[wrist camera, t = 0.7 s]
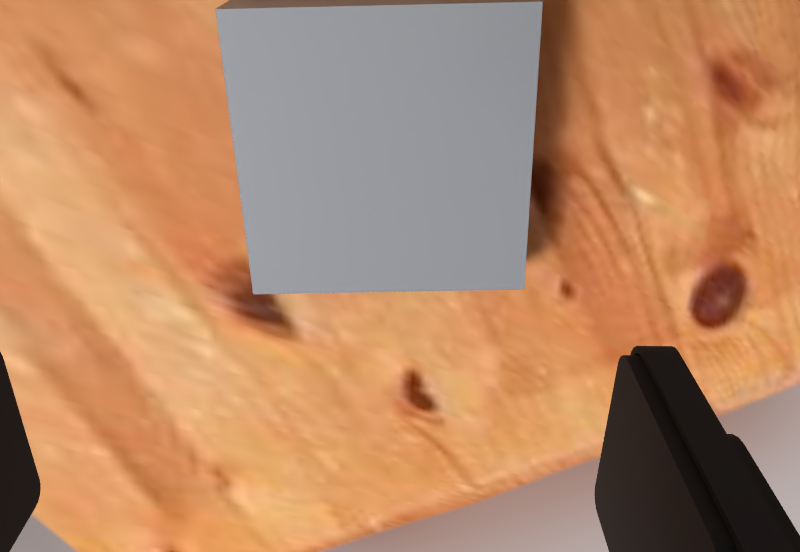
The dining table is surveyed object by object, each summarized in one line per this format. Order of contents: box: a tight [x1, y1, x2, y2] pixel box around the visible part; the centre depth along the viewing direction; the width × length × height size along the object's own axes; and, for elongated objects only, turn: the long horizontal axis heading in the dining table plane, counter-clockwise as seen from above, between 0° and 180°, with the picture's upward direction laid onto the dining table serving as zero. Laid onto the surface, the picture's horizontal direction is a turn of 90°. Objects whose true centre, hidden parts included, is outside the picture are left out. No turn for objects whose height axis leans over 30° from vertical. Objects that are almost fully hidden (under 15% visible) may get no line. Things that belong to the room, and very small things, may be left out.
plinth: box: [215, 0, 543, 294], centre depth 36 cm, size 14×14×3 cm
